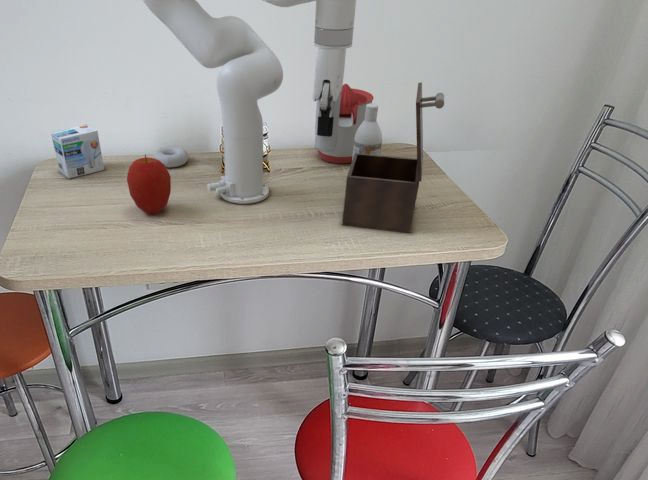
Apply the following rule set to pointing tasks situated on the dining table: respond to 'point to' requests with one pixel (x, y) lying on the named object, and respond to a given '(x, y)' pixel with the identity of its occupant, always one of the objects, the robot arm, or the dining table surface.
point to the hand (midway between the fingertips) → (326, 130)
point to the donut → (171, 156)
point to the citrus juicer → (348, 123)
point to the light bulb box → (78, 151)
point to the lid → (419, 123)
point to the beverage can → (331, 142)
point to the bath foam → (368, 133)
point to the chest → (381, 192)
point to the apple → (149, 184)
